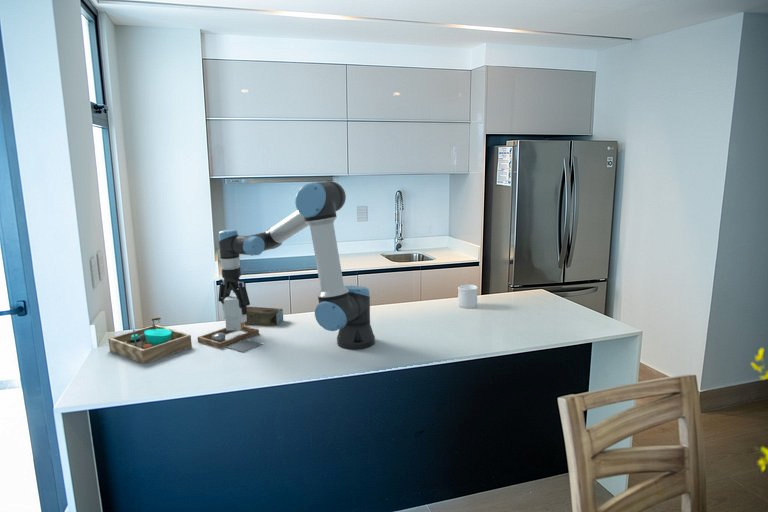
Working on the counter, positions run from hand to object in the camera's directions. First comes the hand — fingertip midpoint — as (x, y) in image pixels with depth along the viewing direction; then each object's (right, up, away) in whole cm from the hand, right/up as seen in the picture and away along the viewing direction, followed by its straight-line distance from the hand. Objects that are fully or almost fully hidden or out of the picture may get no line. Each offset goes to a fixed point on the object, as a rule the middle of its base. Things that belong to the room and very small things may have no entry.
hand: (235, 320), depth 218 cm
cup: (+103, +2, +39) cm, 110 cm away
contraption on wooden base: (-30, -10, -12) cm, 34 cm away
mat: (+7, -9, -11) cm, 16 cm away
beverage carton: (+6, -4, +19) cm, 20 cm away
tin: (-5, -8, -5) cm, 11 cm away
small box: (0, -3, +1) cm, 3 cm away
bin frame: (-2, -7, -1) cm, 8 cm away
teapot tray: (-30, -10, -12) cm, 34 cm away
